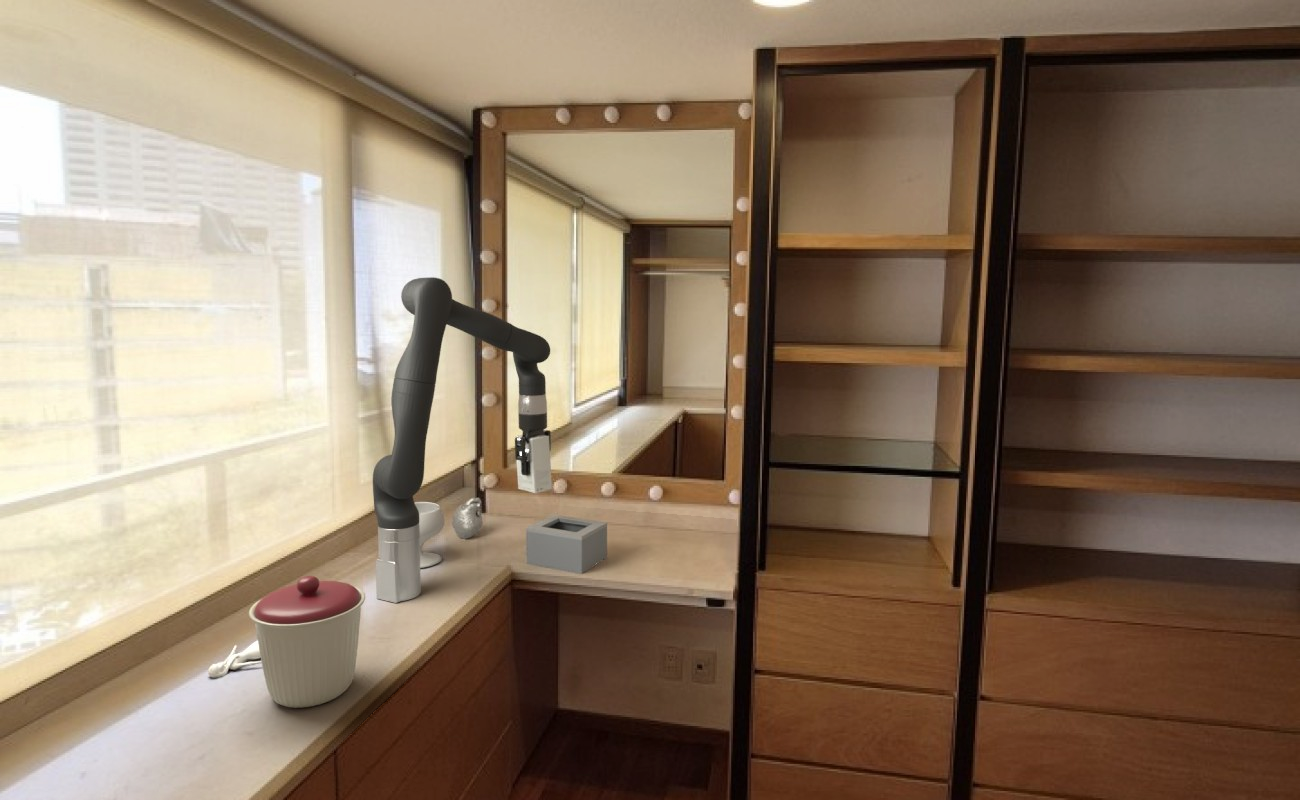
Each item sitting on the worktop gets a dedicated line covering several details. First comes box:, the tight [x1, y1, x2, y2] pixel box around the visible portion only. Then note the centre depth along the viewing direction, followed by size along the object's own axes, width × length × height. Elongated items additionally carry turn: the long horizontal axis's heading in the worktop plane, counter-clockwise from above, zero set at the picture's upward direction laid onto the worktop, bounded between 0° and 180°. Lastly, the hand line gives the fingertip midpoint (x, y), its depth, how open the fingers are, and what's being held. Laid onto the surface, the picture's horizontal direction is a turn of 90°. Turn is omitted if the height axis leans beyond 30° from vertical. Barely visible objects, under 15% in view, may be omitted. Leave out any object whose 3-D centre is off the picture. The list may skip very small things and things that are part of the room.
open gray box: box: [525, 514, 608, 575], centre depth 192 cm, size 14×17×10 cm
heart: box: [451, 497, 483, 540], centre depth 212 cm, size 10×10×12 cm
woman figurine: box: [207, 640, 262, 679], centre depth 136 cm, size 12×4×18 cm
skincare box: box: [514, 434, 553, 494], centre depth 190 cm, size 8×6×15 cm
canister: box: [248, 575, 366, 709], centre depth 123 cm, size 18×18×21 cm
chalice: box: [414, 501, 445, 569], centre depth 189 cm, size 14×14×15 cm
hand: (533, 471), depth 190 cm, fingers closed on skincare box, 7 cm apart
